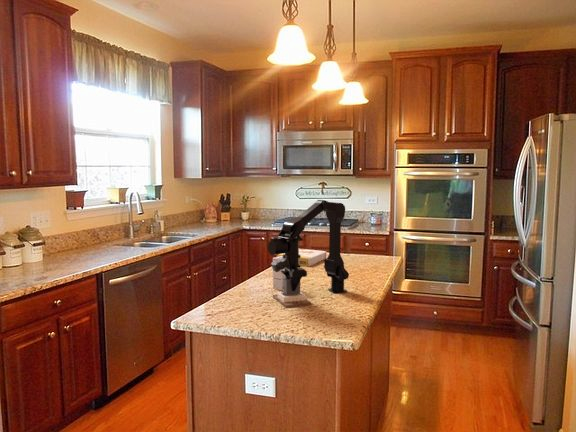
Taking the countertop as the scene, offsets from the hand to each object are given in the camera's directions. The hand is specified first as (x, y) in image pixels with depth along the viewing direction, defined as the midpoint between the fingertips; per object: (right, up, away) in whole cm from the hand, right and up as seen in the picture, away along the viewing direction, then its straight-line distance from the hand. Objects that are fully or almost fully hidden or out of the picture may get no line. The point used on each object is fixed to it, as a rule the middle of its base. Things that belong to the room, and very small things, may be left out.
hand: (291, 289), depth 192 cm
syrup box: (-4, -3, +21) cm, 22 cm away
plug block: (0, -2, 0) cm, 2 cm away
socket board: (0, -5, 0) cm, 5 cm away
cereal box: (+7, +3, +86) cm, 86 cm away
